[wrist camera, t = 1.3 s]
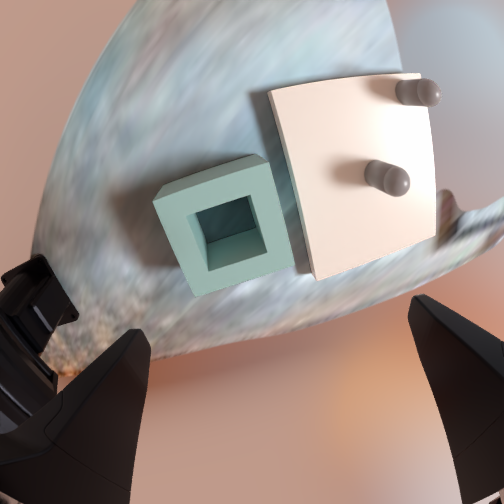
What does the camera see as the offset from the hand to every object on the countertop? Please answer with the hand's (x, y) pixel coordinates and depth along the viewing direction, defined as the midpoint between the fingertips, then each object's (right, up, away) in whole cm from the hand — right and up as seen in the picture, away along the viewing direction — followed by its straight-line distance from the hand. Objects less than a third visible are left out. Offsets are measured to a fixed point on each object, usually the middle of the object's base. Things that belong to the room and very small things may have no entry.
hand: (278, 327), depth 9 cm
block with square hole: (-3, +5, +11) cm, 12 cm away
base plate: (+8, +8, +11) cm, 16 cm away
